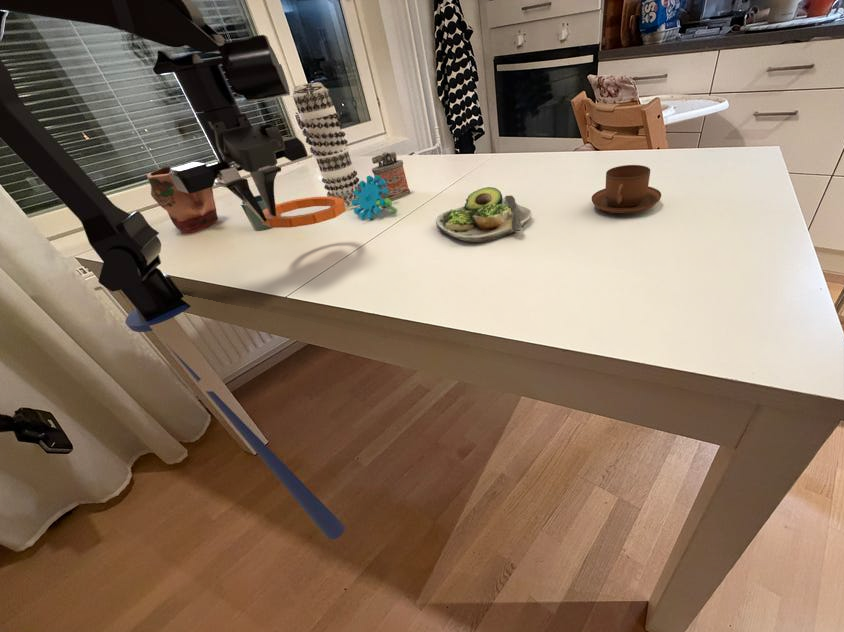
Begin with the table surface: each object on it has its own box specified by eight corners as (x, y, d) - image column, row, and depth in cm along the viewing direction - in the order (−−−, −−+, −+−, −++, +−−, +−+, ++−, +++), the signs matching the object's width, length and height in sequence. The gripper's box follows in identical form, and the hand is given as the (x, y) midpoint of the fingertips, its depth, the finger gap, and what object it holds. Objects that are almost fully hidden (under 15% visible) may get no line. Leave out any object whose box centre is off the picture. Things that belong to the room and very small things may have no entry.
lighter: (406, 191, 100) (395, 147, 94) (413, 193, 98) (402, 149, 92) (378, 201, 97) (365, 157, 91) (385, 203, 95) (372, 158, 88)
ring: (286, 232, 61) (283, 223, 60) (250, 220, 69) (246, 211, 68) (360, 210, 69) (358, 201, 68) (320, 200, 77) (318, 193, 76)
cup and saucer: (665, 216, 67) (671, 178, 63) (593, 221, 70) (594, 185, 66) (653, 192, 76) (658, 158, 72) (589, 198, 79) (590, 165, 75)
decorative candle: (348, 212, 93) (303, 86, 78) (323, 210, 98) (276, 90, 82) (374, 198, 99) (338, 78, 83) (349, 197, 103) (310, 82, 87)
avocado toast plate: (558, 225, 71) (558, 199, 68) (471, 257, 66) (466, 230, 63) (504, 200, 85) (502, 178, 82) (428, 225, 80) (423, 202, 77)
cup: (261, 232, 91) (248, 206, 88) (248, 227, 95) (235, 202, 91) (288, 221, 95) (276, 195, 91) (275, 217, 99) (263, 192, 95)
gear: (343, 210, 89) (360, 168, 88) (362, 221, 95) (378, 181, 93) (375, 223, 84) (394, 179, 83) (394, 234, 89) (411, 192, 88)
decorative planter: (247, 218, 102) (217, 160, 93) (205, 238, 94) (168, 176, 85) (202, 215, 110) (170, 161, 101) (160, 233, 102) (121, 177, 94)
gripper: (161, 125, 46) (233, 251, 55) (303, 93, 55) (342, 205, 65) (137, 124, 52) (205, 237, 62) (268, 96, 62) (309, 198, 72)
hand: (269, 219), depth 65 cm, fingers closed on ring, 1 cm apart
